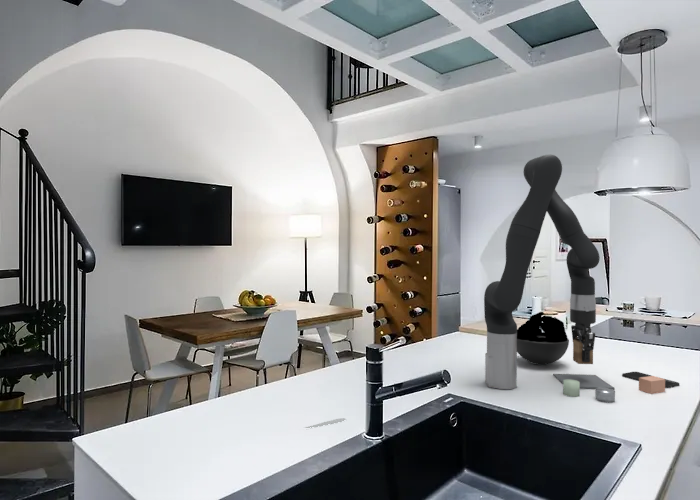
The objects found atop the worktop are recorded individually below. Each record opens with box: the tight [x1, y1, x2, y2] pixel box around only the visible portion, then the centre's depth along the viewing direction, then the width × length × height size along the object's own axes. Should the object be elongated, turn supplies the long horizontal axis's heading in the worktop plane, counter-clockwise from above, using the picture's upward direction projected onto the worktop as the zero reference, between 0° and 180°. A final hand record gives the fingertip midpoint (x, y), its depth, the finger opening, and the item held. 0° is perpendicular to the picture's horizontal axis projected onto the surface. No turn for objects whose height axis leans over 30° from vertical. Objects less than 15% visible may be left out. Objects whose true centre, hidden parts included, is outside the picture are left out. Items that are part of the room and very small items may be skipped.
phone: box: [621, 371, 680, 389], centre depth 154 cm, size 8×1×15 cm
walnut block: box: [572, 338, 594, 365], centre depth 152 cm, size 4×4×7 cm
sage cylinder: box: [562, 379, 581, 398], centre depth 140 cm, size 4×4×4 cm
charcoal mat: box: [552, 373, 615, 391], centre depth 152 cm, size 14×14×1 cm
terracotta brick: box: [638, 375, 666, 395], centre depth 144 cm, size 6×4×4 cm, turn 110°
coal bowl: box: [517, 311, 570, 366], centre depth 175 cm, size 20×20×19 cm
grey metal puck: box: [594, 387, 616, 404], centre depth 136 cm, size 5×5×3 cm
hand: (582, 359), depth 152 cm, fingers closed on walnut block, 4 cm apart
